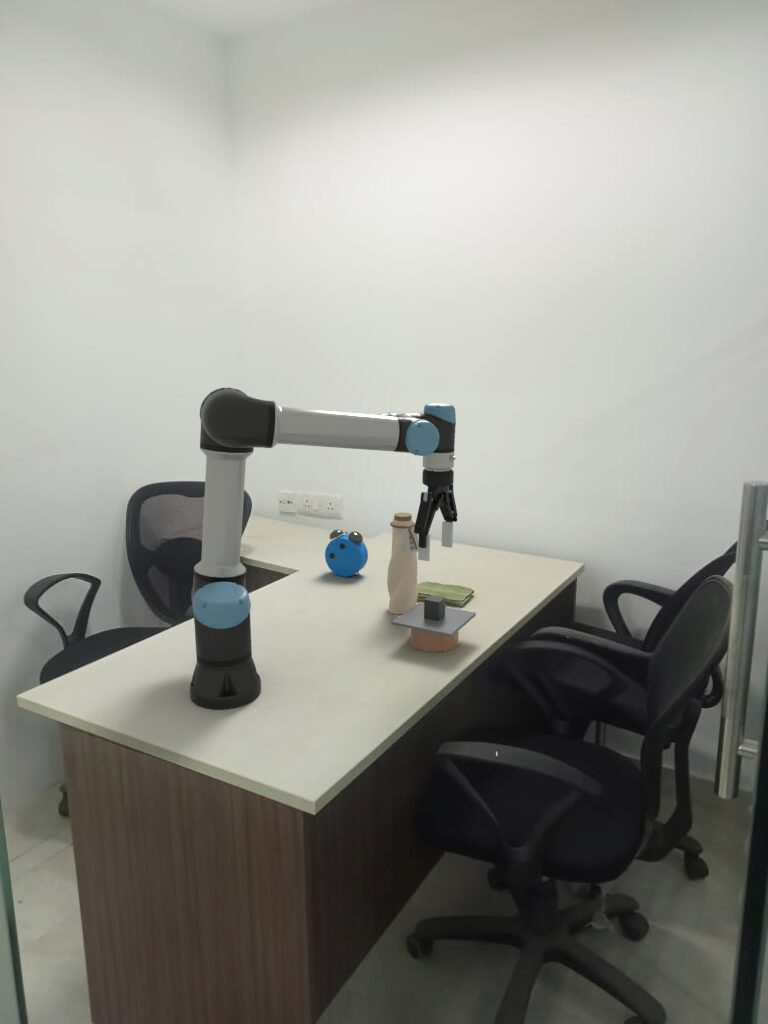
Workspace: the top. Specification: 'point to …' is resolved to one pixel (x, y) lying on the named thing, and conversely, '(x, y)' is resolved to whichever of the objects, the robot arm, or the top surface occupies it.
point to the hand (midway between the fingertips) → (435, 553)
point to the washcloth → (444, 592)
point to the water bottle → (403, 565)
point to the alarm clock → (346, 553)
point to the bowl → (433, 641)
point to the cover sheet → (431, 625)
